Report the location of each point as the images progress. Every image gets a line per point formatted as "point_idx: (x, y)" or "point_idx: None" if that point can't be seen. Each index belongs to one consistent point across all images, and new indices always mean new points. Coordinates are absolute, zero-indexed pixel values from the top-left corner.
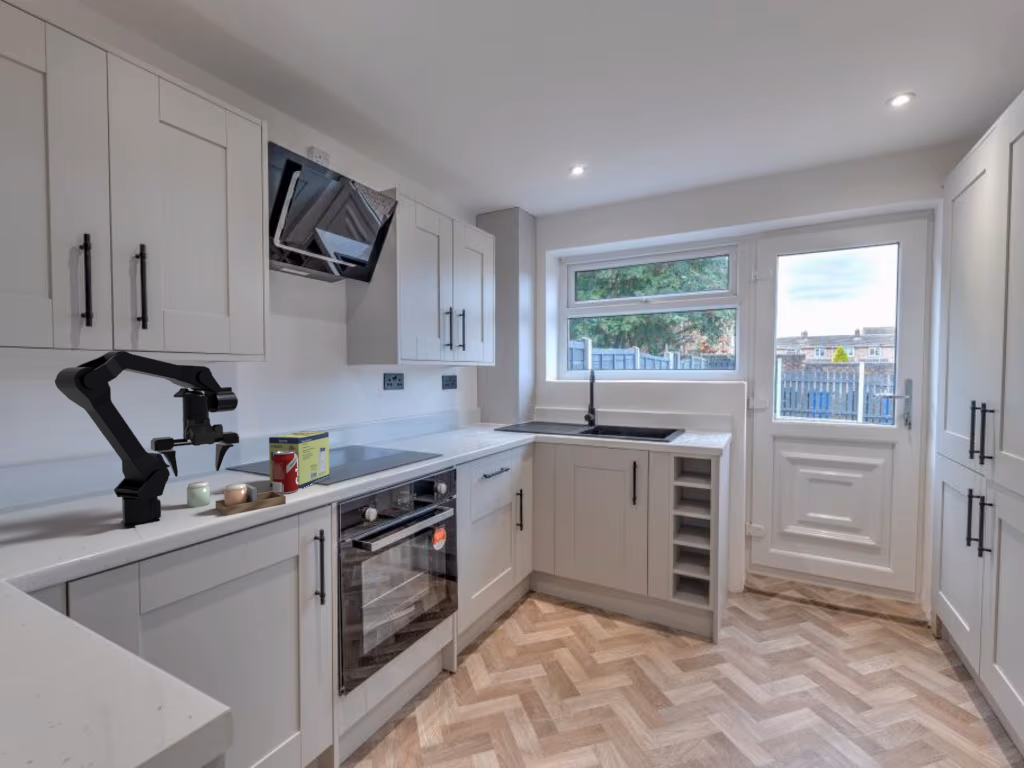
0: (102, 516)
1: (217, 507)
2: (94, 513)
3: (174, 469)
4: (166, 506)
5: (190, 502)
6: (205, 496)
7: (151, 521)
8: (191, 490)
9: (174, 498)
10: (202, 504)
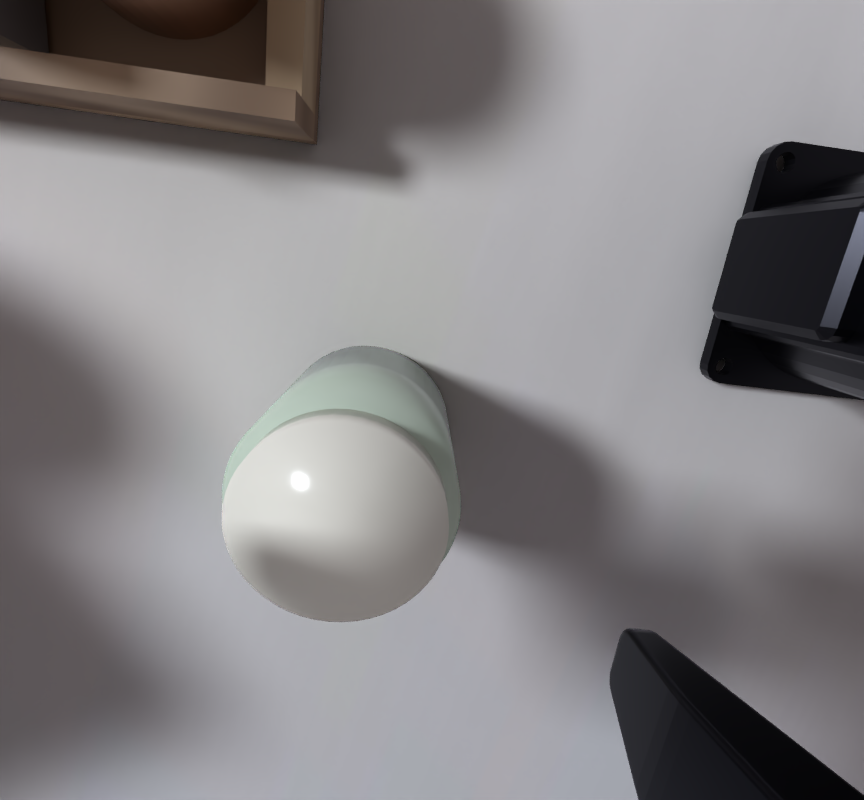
0: (845, 659)
1: (312, 54)
2: (827, 756)
3: (769, 739)
4: (518, 604)
5: (441, 407)
6: (319, 371)
7: (833, 152)
8: (439, 434)
9: (403, 765)
10: (360, 353)
